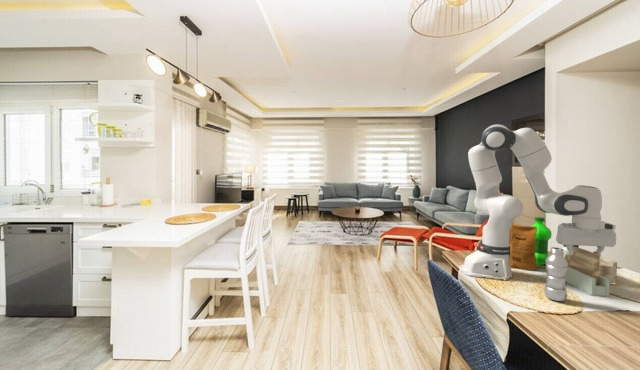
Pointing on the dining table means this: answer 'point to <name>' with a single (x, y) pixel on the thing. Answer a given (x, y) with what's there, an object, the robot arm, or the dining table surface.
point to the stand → (588, 282)
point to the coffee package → (523, 247)
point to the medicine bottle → (567, 249)
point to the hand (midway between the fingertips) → (584, 255)
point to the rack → (604, 268)
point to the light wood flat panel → (585, 262)
